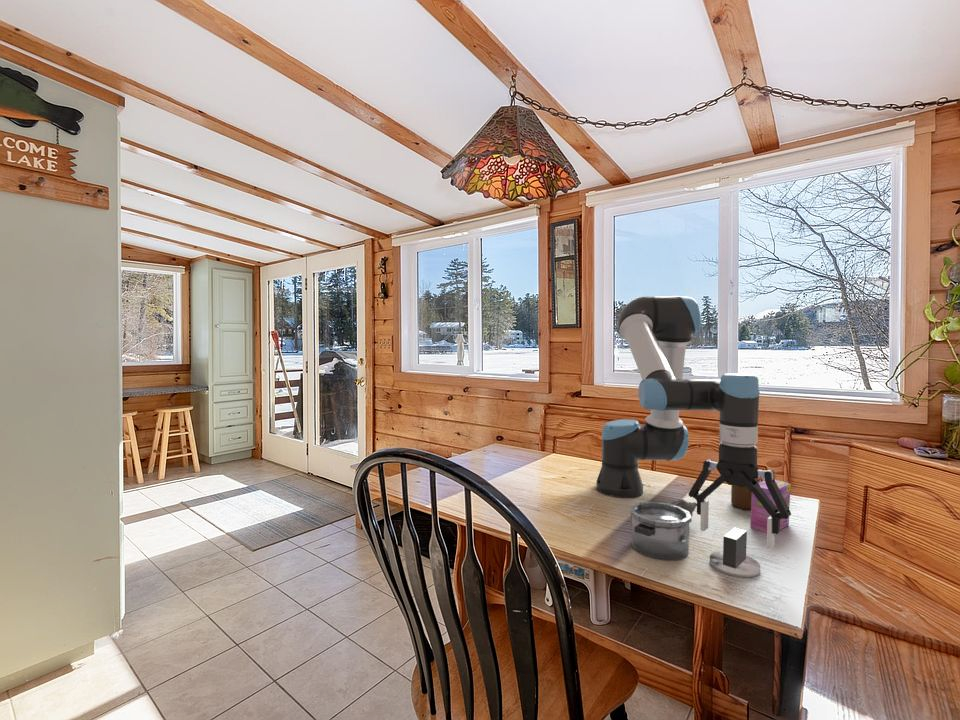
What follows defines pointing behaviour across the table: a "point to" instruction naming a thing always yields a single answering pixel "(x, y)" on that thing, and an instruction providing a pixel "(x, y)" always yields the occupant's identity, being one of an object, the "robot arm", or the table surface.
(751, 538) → the table surface
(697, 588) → the table surface
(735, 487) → the mug
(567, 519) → the table surface
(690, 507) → the fossil
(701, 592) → the table surface
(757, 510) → the box
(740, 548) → the lid
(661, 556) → the pot
